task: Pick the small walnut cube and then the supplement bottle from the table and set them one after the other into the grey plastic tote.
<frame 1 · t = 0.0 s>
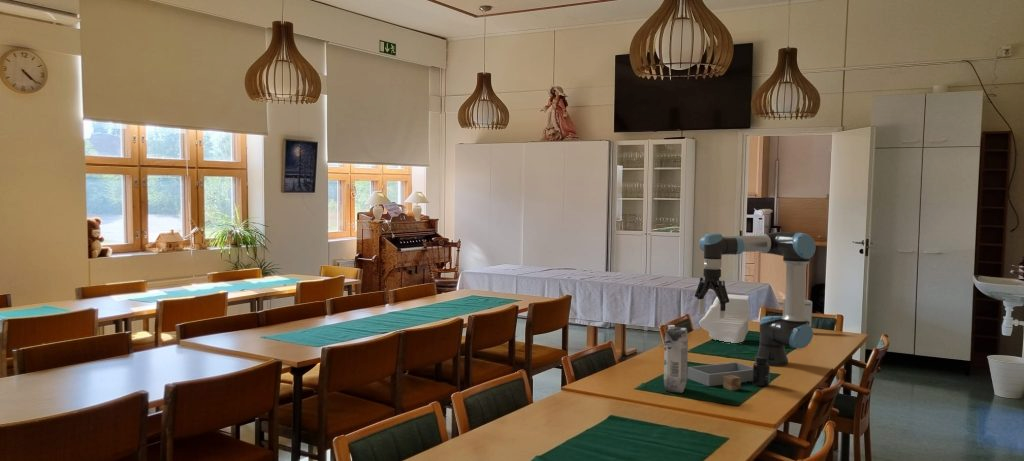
hand: (711, 315, 321), 28 cm above the table, tool pointing down, fingers open, 13 cm apart
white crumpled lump: (727, 340, 412), on the table
tote: (722, 379, 320), on the table
supplement bottle: (760, 385, 312), on the table
hard drive box: (796, 333, 437), on the table
juice carton: (675, 390, 302), on the table
walnut cube: (731, 388, 305), on the table
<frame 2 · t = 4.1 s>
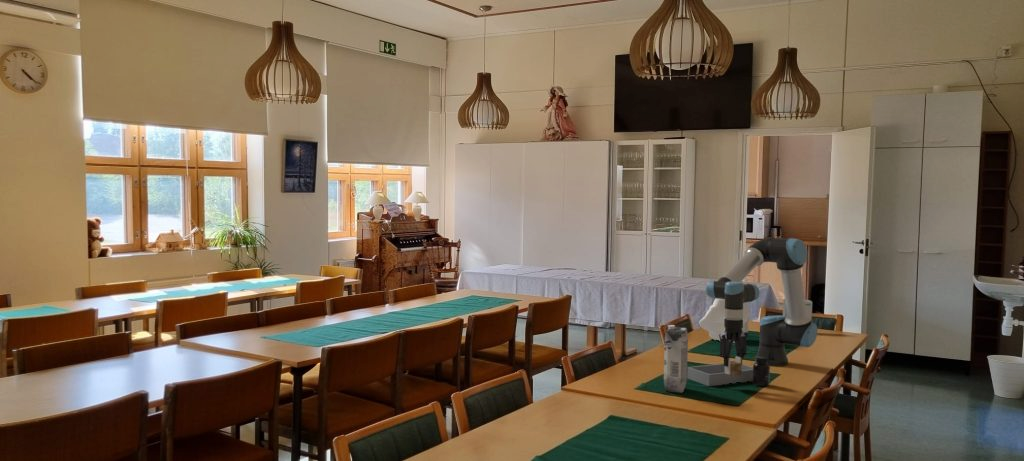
hand: (732, 372, 305), 7 cm above the table, tool pointing down, fingers closed on walnut cube, 5 cm apart
walnut cube: (732, 374, 305), point 6 cm above the table, touching gripper
everything else where it was.
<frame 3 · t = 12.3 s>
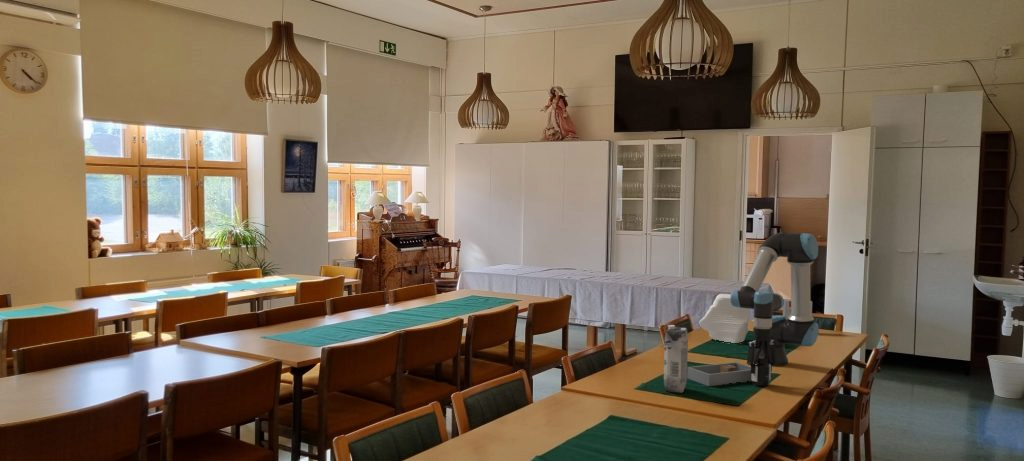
hand: (761, 380, 312), 2 cm above the table, tool pointing down, fingers closed on supplement bottle, 7 cm apart
supplement bottle: (760, 385, 312), on the table, touching gripper
walnut cube: (728, 377, 322), resting on tote
everything else where it was.
when the fingers open (5 cm above the table, at t = 17.3 s): supplement bottle drops 2 cm, resting on tote.
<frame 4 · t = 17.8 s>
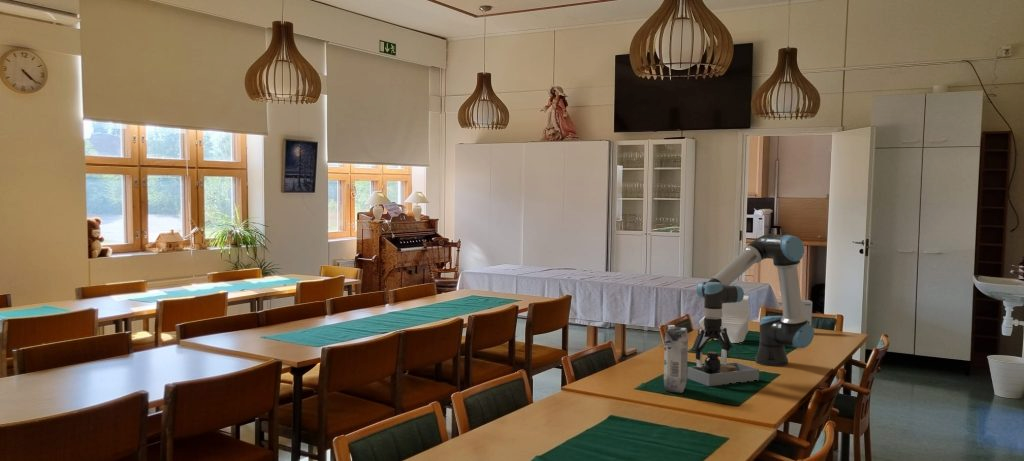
hand: (711, 365, 317), 7 cm above the table, tool pointing down, fingers open, 13 cm apart
supplement bottle: (711, 379, 318), resting on tote
everything else where it was.
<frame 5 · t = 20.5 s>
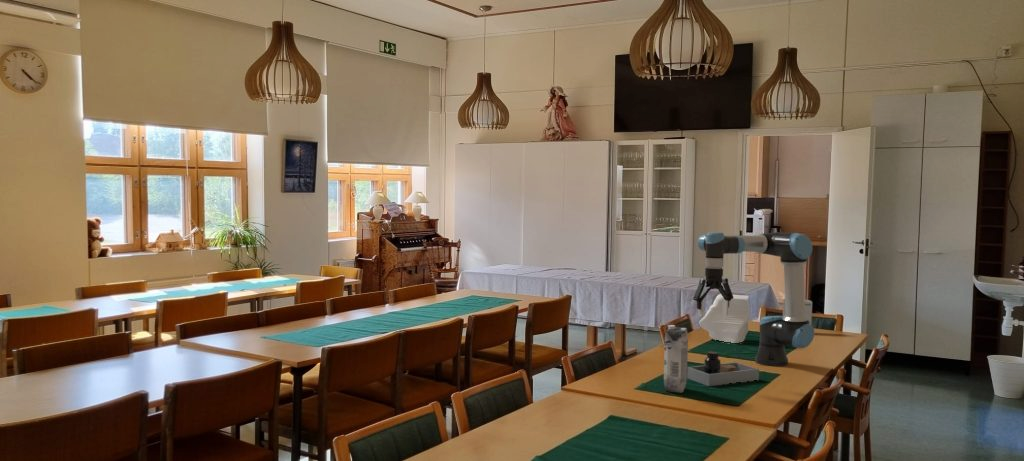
hand: (712, 315, 316), 29 cm above the table, tool pointing down, fingers open, 13 cm apart
nothing on the table moved.
at the end: walnut cube inside the target area on the tote (3.0 cm from its centre), point 0.5 cm above the tote's base; supplement bottle inside the target area on the tote (6.2 cm from its centre), point 0.3 cm above the tote's base; supplement bottle tilted 0° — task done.
